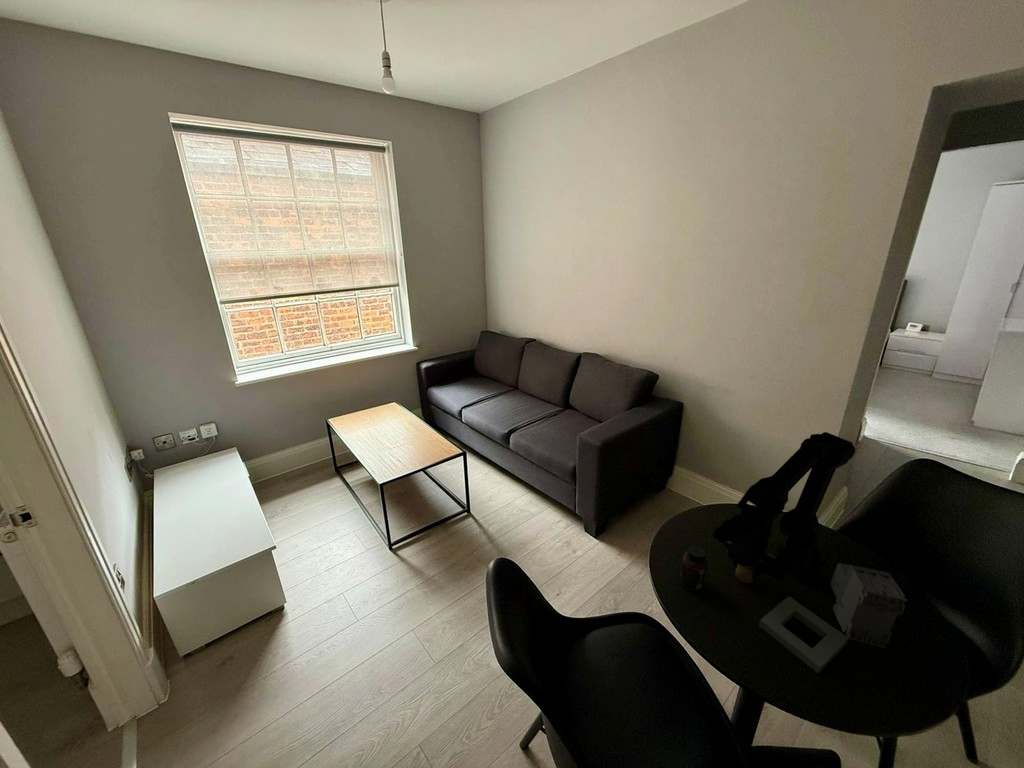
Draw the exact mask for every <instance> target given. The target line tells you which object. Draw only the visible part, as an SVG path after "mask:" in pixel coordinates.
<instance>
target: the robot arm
mask: <svg viewBox="0 0 1024 768" xmlns="http://www.w3.org/2000/svg"><path fill="white" fill-rule="evenodd" d="M853 444H854V443H853V442H852V441H850V440H847V439H845V438H842V437H840V436H837V435H836V434H832V433H830V432H828V431H827V432H826V431H823V432H822V433H812V434H810V436H809V438H805V439H804V440H803V441H802V442H801V443H800V446H799V448H798V449H797V450H796V451H795V452H794V453H793V454H792V455H791V456H790V457H789V458H788V460H786V462H784V463H783V465H781V466H780V467H779V468H778V470H776V471H775V472H774V473H773V474H772V475H771V476H767V477H763V478H760V479H759V480H758V481H756V482H755V483H754V484H752V485H750V486H749V487H748V489H747V490H746V492H745V493H744V494H743V496H742V497H741V498H740V500H739V502H738V503H737V504H736V507H737V508H738V509H740V510H741V511H740V514H735V515H733V516H732V517H731V518H728V519H725V520H724V521H723V522H722V523H721V525H719V526H717V527H715V529H714V530H713V532H712V533H713V534H712V536H713V538H714V539H716V540H717V541H718V542H720V543H722V544H724V545H723V546H724V548H726V549H727V556H728V558H729V559H730V560H732V561H733V564H734V565H733V566H734V568H735V569H736V568H737V564H739V565H740V566H742V567H746V566H748V567H750V566H752V567H754V568H755V567H756V570H755V573H754V575H753V579H752V580H754V581H755V580H756V579H758V578H759V576H760V575H762V574H763V573H764V574H766V575H769V576H771V577H772V578H773V579H776V580H777V581H778V582H785V581H786V580H787V579H788V578H789V577H791V575H792V573H793V572H794V569H795V567H794V565H793V564H795V563H797V555H798V551H799V550H800V549H801V550H806V549H807V548H808V547H809V546H815V547H817V548H818V547H819V546H820V545H821V542H822V541H823V538H822V537H821V536H820V534H819V533H818V531H819V529H820V522H819V519H818V515H817V513H818V511H819V509H820V507H821V504H822V502H823V500H824V497H825V496H826V494H827V493H826V492H827V490H828V488H829V486H830V483H831V481H832V479H833V476H834V475H835V472H836V470H837V469H839V468H842V467H843V466H845V465H846V464H848V463H849V461H850V460H851V459H852V458H853V457H854V455H855V453H856V448H855V446H854V445H853ZM808 473H809V474H808ZM807 474H808V476H807V478H806V481H805V483H804V486H803V488H802V490H801V493H800V496H799V497H798V500H797V503H796V505H795V507H794V508H792V509H790V510H788V511H785V512H784V513H783V511H784V510H785V507H786V504H787V502H788V501H789V493H790V491H791V490H792V489H793V488H794V487H795V485H797V484H798V482H800V480H802V479H803V478H804V476H805V475H807ZM748 502H749V503H751V504H752V505H754V506H752V505H750V504H749V503H748ZM781 513H783V516H781V518H780V521H779V532H781V533H782V534H784V535H786V536H785V540H784V543H783V545H781V546H780V547H779V548H778V549H777V550H776V551H777V553H778V554H780V555H777V556H775V555H773V554H772V553H767V552H766V550H767V549H768V547H769V545H768V541H769V539H770V537H772V535H773V533H772V532H771V531H772V528H773V524H774V521H776V519H777V518H778V516H779V515H781ZM818 549H819V548H818ZM781 555H782V556H781ZM784 557H785V558H784ZM786 558H787V559H789V560H790V561H789V560H787V559H786ZM791 561H792V562H793V563H792V562H791Z"/></svg>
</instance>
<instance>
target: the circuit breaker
mask: <svg viewBox="0 0 1024 768" xmlns="http://www.w3.org/2000/svg"><path fill="white" fill-rule="evenodd" d="M829 585H830V587H831V589H832V592H833V594H834V595H835V598H836V600H835V603H834V604H833V606H832V610H833V612H834V613H833V614H834V615H835V618H836V619H837V622H838V623H839V626H840V628H841V630H842V633H843V634H844V635H845V636H847V637H848V638H849V639H848V640H852V641H856V642H859V643H860V642H861V643H863V644H867V645H872V646H874V647H879V648H882V649H886V644H887V645H888V643H889V642H890V640H891V637H892V635H893V633H892V631H891V629H892V628H893V626H894V623H895V621H896V620H897V618H898V615H900V616H902V615H903V613H904V611H905V609H906V604H905V602H908V599H907V598H905V597H906V596H905V594H904V593H903V591H902V590H901V588H900V586H898V584H897V582H896V581H895V579H894V577H892V575H891V573H890V572H888V571H884V570H883V571H882V570H877V569H873V568H869V567H864V566H858V565H855V564H846V563H841V562H837V565H836V568H835V570H834V573H833V576H832V577H831V580H830V584H829Z"/></svg>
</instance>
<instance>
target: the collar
mask: <svg viewBox="0 0 1024 768" xmlns="http://www.w3.org/2000/svg"><path fill="white" fill-rule="evenodd" d="M793 617H794V618H795V619H797V620H798V621H800V623H802V624H803V625H805V626H806V627H807V628H809V629H810V630H811V631H813V632H815V634H817V635H818V636H820V637H821V640H820V641H818V643H817V644H815V645H814V647H811V646H810V645H809V644H807V643H806V642H804V641H803V640H802V639H800V637H798V636H796V635H795V634H794V633H792V632H791V631H790V630H788V629H787V628H786V627H785V626H784V625H785V624H786V623H788V622H789V621H790V620H791V619H792V618H793ZM758 626H759V628H761V629H762V630H763V631H764V632H766V633H767V634H768V635H769V636H771V637H772V638H773V639H775V640H776V641H777V642H778V643H779V644H781V645H782V646H783V647H785V648H786V649H787V650H789V652H791V653H792V654H793V655H794V656H796V657H797V658H798V659H800V660H801V661H802V662H803V663H804V664H806V665H807V666H808V667H810V669H812V670H813V671H815V673H816V674H819V673H821V672H822V671H823V669H824V668H825V667H826V666H827V665H828V664H829V663H830V662H831V661H832V660H833V659H834V658H835V656H837V654H839V652H840V651H842V649H843V648H844V647H845V646H846V645H847V643H848V641H849V640H850V639H849V638H848V637H847V635H846V634H845V633H843V632H841V631H840V630H838V629H837V628H835V627H833V626H832V625H831V624H830V623H829V622H827V621H825V620H824V619H822V618H821V617H819V616H818V615H817V614H815V612H812V611H811V610H809V609H808V608H807V607H806V606H803V605H802V604H801V603H800V602H798V601H797V600H795V599H794V598H792V597H791V596H790V595H788V596H787V597H786V598H784V600H782V601H781V602H780V603H779V604H777V605H776V606H775V607H774V608H772V609H771V610H770V611H768V613H767V614H765V615H764V616H763V617H762V618H760V619H759V623H758Z"/></svg>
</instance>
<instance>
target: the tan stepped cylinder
mask: <svg viewBox="0 0 1024 768" xmlns="http://www.w3.org/2000/svg"><path fill="white" fill-rule="evenodd" d="M755 570H756V567H755V568H754V567H752V566H750V567H748V566H746V567H742V566H740V565H739V564H737V568H735V572H734V574H735V577H736V578H737V579H738V580H739V581H741V583H745V584H752V583H753V582H755V580H752V579H753V575H754V573H755Z"/></svg>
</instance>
